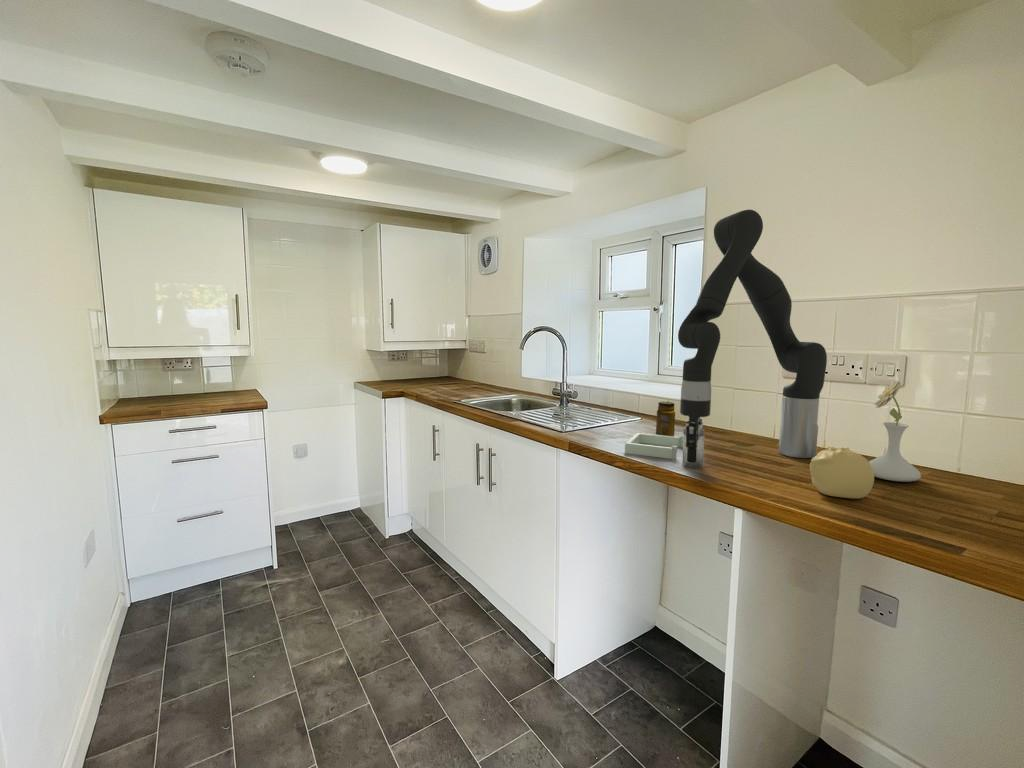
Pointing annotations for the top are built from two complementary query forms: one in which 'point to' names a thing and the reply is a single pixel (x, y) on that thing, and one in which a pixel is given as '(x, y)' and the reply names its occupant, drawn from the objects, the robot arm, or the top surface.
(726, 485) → the top surface
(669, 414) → the condiment
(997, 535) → the top surface
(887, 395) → the flower in vase
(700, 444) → the shaker
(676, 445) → the tray
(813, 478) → the cream rounded lump
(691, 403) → the robot arm
